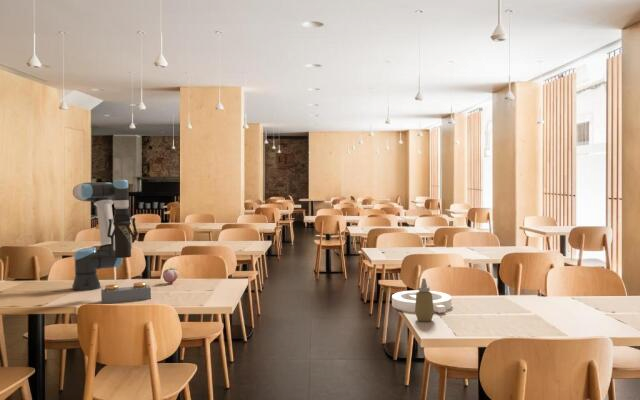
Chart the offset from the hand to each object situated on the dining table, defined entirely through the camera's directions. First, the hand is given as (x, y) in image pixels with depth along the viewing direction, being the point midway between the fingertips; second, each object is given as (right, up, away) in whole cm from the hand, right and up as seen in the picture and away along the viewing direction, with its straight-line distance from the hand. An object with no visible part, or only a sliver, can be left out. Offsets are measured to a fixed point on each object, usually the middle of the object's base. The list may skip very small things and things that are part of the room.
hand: (122, 249), depth 296 cm
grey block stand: (+6, -25, -12) cm, 29 cm away
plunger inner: (0, -25, -15) cm, 29 cm away
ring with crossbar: (+157, -24, -36) cm, 163 cm away
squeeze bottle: (+153, -25, -64) cm, 168 cm away
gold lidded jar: (+13, -24, -9) cm, 29 cm away
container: (0, -4, 0) cm, 4 cm away
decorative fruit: (+17, -24, +32) cm, 43 cm away
